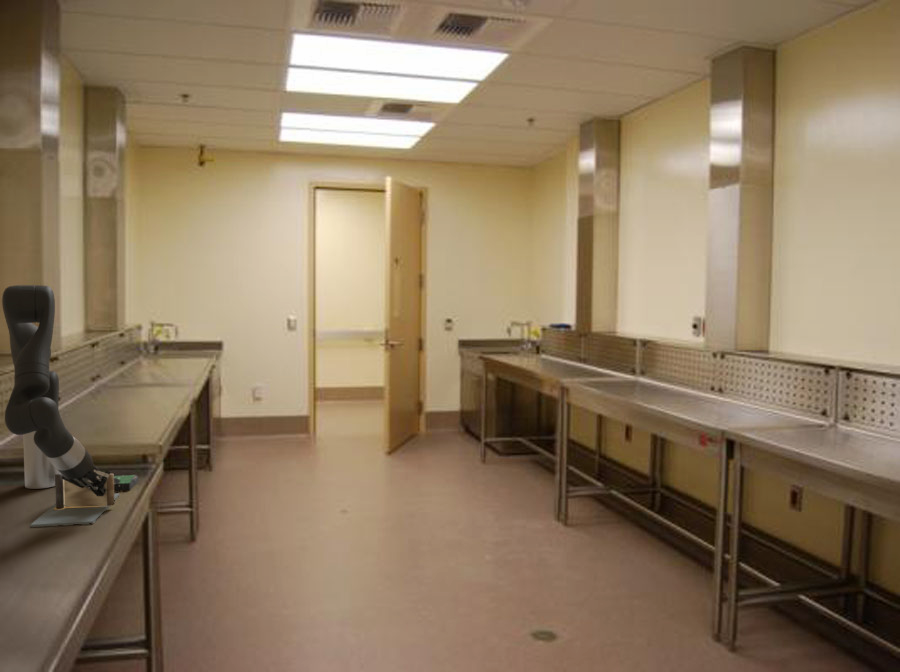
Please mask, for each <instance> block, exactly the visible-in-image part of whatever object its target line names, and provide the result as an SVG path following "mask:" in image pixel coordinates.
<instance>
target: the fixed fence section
mask: <svg viewBox="0 0 900 672" xmlns="http://www.w3.org/2000/svg"><path fill="white" fill-rule="evenodd" d="M61 477H62V474H61V473H59V474H55V486H54V487H55V504H56V509H62V508H64V505H65V488H64V480H63V479H62V478H61Z"/></svg>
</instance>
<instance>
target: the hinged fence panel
mask: <svg viewBox="0 0 900 672" xmlns="http://www.w3.org/2000/svg"><path fill="white" fill-rule="evenodd" d="M114 475H115V474H114V473H110V475H109V477H108V479H107V481H106V483H105V485H104V487H105V488H106V492H105V494H104V496H96V494H94V493H93V492H92V491H91V490H89V489H87V488H86V487H85V486H84V488H81V487H78V486H76V485H74V484H72V483H70V482H68V481H66V480H64V488H65V507H91V506H109V507H110V506H115V504H116V503H115V501H114V493H115V491H114Z"/></svg>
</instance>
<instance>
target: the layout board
mask: <svg viewBox="0 0 900 672" xmlns="http://www.w3.org/2000/svg"><path fill="white" fill-rule="evenodd" d="M119 497H120V493H119V492H118V493H115V492H114V500H115V499H116V500H117V499H118V498H119ZM116 500H115V501H116ZM109 507H110V506H91V507H65V505H64V508H62V509H56V503H54V505H52V506H50V508H49V509H48V510H46V511H45V512H44V513H42V514H41V515H40V516H39V517H38V518H36V519H35V520H34V521H33V522H32V523H30V525H29V526H30V528H40V527H41V528H42V527H43V528H44V527H57V526H58V525H63V526H74V525H73V524H82V525H90V524H89V523H93V524H94V523H96V521H97V520H98V519H99V518H100V517H101V516H102V515H103V514H104V513H105V512H106V511H107V510H108V509H109ZM104 511H105V512H104ZM103 512H104V513H103ZM102 513H103V514H102ZM101 514H102V515H101ZM100 515H101V516H100ZM99 516H100V517H99ZM98 517H99V518H98ZM97 518H98V519H97ZM96 519H97V520H96ZM58 527H59V526H58Z"/></svg>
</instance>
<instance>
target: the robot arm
mask: <svg viewBox="0 0 900 672" xmlns="http://www.w3.org/2000/svg"><path fill="white" fill-rule="evenodd" d="M55 301H56V299H55V293H54V291H53V289H52V288H51V287H50V286H49V285H34V284H32V285H31V284H30V285H29V284H28V285H27V284H25V285H24V284H23V285H22V284H21V285H20V284H18V285H10V286H7V287H6V288H5V289H4V291H3V293H2V298H1V305H2V311H3V315H4V319H5V323H6V326H7V329H8V335H9V345H10V346H9V347H10V353H11V359H12V363H13V367H14V382H13V383H14V386H13V387H12V388H13V389H12V391H11V394H10V397H9V400H8V402H7V405H6V409H5V411H4V423H5V426H6V428H7V429H8V431H9V432H10V433H12V434H14V435H17V436H23V437H22V438H23V468H24V487H25V488H26V489H32V490H34V489H35V490H36V489H47V488H48V489H49V488H51V487H52V488H53V487H55V474H59V473H61V474H62V477H61V478H62V479H63V480H66V481H68V482H70V483H72V484H74V485H76V486H78V487H81V488H84V486H85V487H86V488H87V489H89V490H91V491H92V492H93V493H94V494H96V496H104V494H105V492H106V488H105V487H104V485H105V483H106V481H107V479H108V477H109V475H110V473H111V471H109V470H105V471H100V469H99V467H97V466H96V465H95V464H94V458H93V457H92V455H91V454H90V453H89V451H87V449H86V448H85V447H84V446H83V445H82V443H81V441H79V440H78V439H77V438H76V437H74V436H73V434H71V432H70V431H69V430H68V429H67V428H66V426H65V424H64V422H63V419H62V415H61V414H60V410H59V403H60V402H59V399H60V398H59V397H60V395H59V394H60V379H59V375H58V373H57V372H56V371H54V370H53V371H52V370H50V359H51V358H52V357H51V356H52V349H51V347H52V342H53V341H52V340H53V332H54V325H55V314H56V302H55ZM35 323H38V326H37V325H35Z"/></svg>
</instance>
